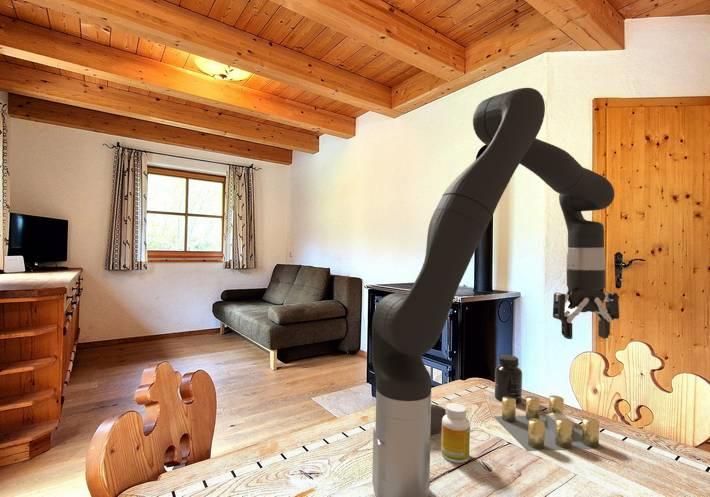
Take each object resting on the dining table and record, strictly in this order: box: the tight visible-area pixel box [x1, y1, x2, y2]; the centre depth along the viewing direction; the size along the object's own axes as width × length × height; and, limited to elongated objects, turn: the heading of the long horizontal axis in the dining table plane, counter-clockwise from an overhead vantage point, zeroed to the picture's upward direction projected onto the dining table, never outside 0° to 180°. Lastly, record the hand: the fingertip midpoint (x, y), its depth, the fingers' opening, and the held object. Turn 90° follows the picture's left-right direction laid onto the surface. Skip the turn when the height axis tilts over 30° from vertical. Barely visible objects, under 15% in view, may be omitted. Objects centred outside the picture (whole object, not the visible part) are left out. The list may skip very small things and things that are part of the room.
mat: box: [492, 414, 607, 452], centre depth 82 cm, size 23×15×1 cm, turn 95°
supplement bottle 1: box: [440, 402, 471, 464], centre depth 73 cm, size 5×5×10 cm
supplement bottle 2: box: [494, 354, 523, 405], centre depth 99 cm, size 7×7×12 cm
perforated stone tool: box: [430, 403, 446, 435], centre depth 81 cm, size 15×5×7 cm, turn 98°
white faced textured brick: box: [545, 412, 575, 435], centre depth 82 cm, size 4×4×3 cm
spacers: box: [501, 395, 600, 449], centre depth 82 cm, size 15×14×5 cm
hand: (585, 337), depth 84 cm, fingers open, 8 cm apart
